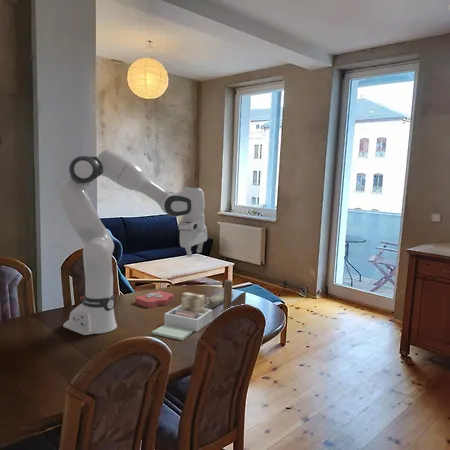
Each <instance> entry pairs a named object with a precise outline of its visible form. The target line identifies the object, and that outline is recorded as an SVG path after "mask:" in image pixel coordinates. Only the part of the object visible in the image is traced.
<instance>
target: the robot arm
mask: <svg viewBox="0 0 450 450" xmlns="http://www.w3.org/2000/svg"><path fill="white" fill-rule="evenodd" d="M68 172H69V178H68V179H67V180H66V181H63V182H61V184H59V185H58V187H57V189H56V190H57V196H58V199H59V202H60V205H61V207H62V209H63V212H64V214H65V216H66V218H67V220H68V222H69V223H70V226H71V227H72V230H73V231H74V232H75V233H76V234H77V236H78V237H79V239H80V240H81V241H82V243H83V245H84V246H83V248H82V259H83V270H84V278H85V283H84V284H85V286H84V287H85V289H84V290H85V291H84V292H85V294H84V295H82V296H80V298H79V300H82V302H81V303H80V304H78V305H77V306H76V307H74V309H72V310H71V311H70V313H69V319H68V320H67V321H65V322H64V323H63V326H62V327H63V328H65V329H68V330H70V331H72V332H76V333H78V334H81V335H83V336H87V335H88V336H89V335H93V334H98V335H99V334H105V333H106V334H107V333H109V332H112V331H115V330H116V329H117V327H118V324H117V321H116V315H115V310H114V305H115V294H114V274H113V273H114V272H113V253H114V249H115V244H114V243H115V242H113V239H112V237H111V236H110V234H109V232H108V230H107V229H106V226H105V225H104V224H103V222H102V220H101V218H100V217H99V215H98V213H97V210H96V208H95V206H94V205H93V203H92V200H91V199H90V196H89V194H88V191H87V187H88V186H89V185H91V183H93V182H94V181H96V179H97V178H99V177H100V176H101V177H105V178H107V179H108V180H111V181H112V182H114V183H115V184H117V185H119V186H120V187H122V188H125V189H127V190H130V191H134V192H139V193H141V194H143V195H145V196H146V197H148V198H149V199H152V200H153V201H154V202H155V203H157V204H158V205H159V207H160V209H161V210H162V211H163V212H164V213H165V214H167V215H168V216H170V217H174V218H176V217H180V216H183V217H184V219H183V220H182V221H181V223H179V226H178V229H179V230H180V231H179V245H180V248H185V249H184V250H185V251H186V257H189V258H190V257H192V256H193V252H192V247H194V246H197V248H196V253H199V254H200V253H202V252H203V251H202V250H203V245H204V243H205V242H207V240H208V228H207V226H206V223H205V216H206V215H205V208H206V203H205V193H204V190H203V189H202V188H200V187H196V186H191V185H188V186H186V187H185V188H183V189H182V190H180V191H177V192H172V191H166V190H165V189H162V188H161V187H160V186H158V185H156V184H155V183H154V182H152V181H151V180H150V179H149V178H148V177H147V176H146V174H145V173H144V171H143V170H142V168H140V167H139V166H138V165H137V164H136V163H135V162H133V161H131V160H130V159H129V158H127V157H125V156H123V155H122V154H120V153H118V152H116V151H114V150H111V149H104V150H102V151H101V152H100V153H98V155H97V156H88V155H80V156H77V157H75V158H74V159H72V160H71V162H70V164H69V168H68Z"/></svg>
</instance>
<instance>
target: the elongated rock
mask: <svg viewBox="0 0 450 450" xmlns="http://www.w3.org/2000/svg"><path fill="white" fill-rule="evenodd" d="M233 297H234V294H233V293H232V298H233ZM221 304H224V291H223V292H218V293H216V294H214V295H211V296H209V297H208V296H207V297H206V296H205V302H204V308H205V309H211V310H213V309H215V308H216V307H218V306H220V305H221Z"/></svg>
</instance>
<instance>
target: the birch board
mask: <svg viewBox="0 0 450 450" xmlns="http://www.w3.org/2000/svg"><path fill="white" fill-rule="evenodd" d="M205 298H206V296H205V295H204V294H198V293H192V292H187V291H185V292H182V293H181V304H182V310H185V311H190V312H195V313H200V314H204V302H205Z"/></svg>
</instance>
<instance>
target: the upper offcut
mask: <svg viewBox="0 0 450 450" xmlns="http://www.w3.org/2000/svg"><path fill="white" fill-rule="evenodd" d="M175 315H178V316H183V317H188V318H193V319H196V313H192V312H186V311H180V310H179V311H178V312H176V313H175Z"/></svg>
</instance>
